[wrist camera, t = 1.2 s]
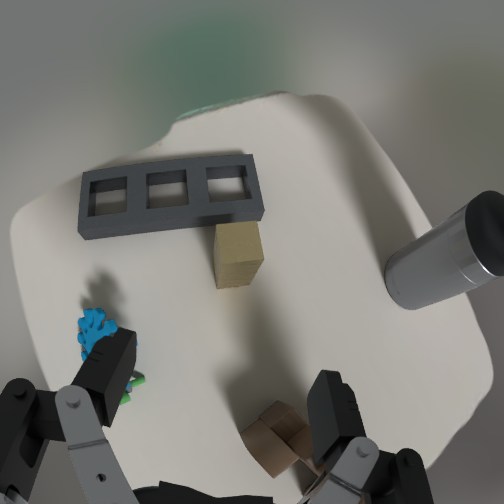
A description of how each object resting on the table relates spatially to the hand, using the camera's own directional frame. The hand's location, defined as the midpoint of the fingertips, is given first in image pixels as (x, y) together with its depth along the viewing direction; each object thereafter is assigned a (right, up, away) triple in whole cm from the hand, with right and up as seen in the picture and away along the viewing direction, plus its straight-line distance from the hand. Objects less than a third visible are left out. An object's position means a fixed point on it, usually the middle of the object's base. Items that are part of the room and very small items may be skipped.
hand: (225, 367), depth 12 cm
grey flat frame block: (-10, +12, +28) cm, 32 cm away
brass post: (-2, +2, +26) cm, 27 cm away
